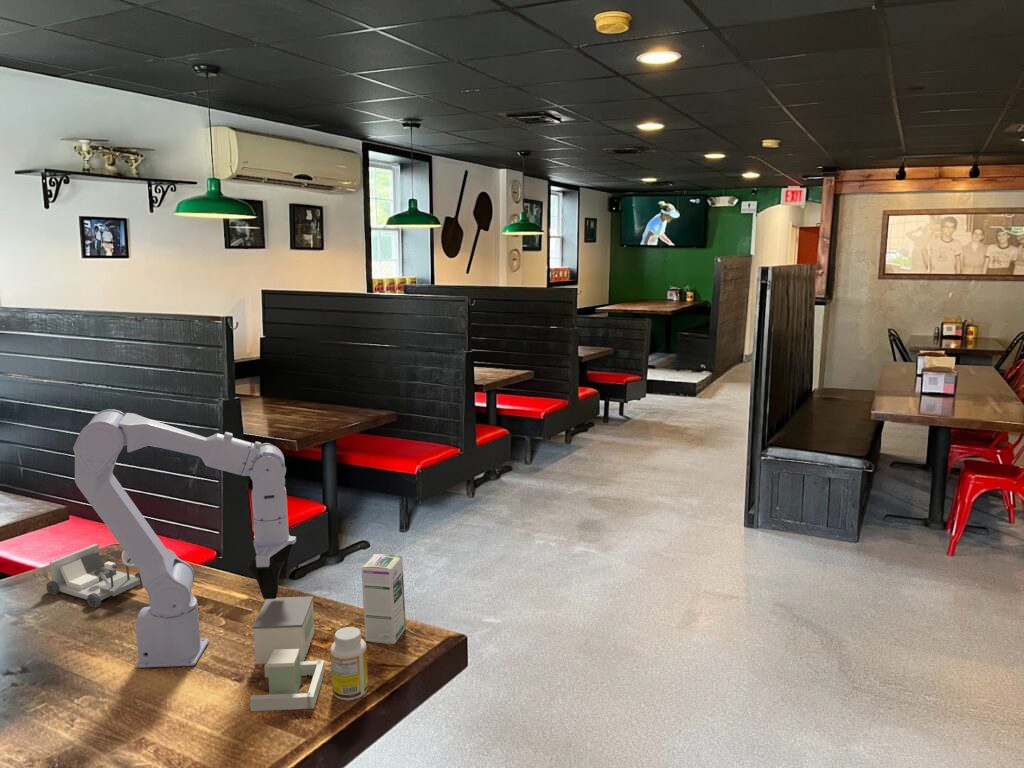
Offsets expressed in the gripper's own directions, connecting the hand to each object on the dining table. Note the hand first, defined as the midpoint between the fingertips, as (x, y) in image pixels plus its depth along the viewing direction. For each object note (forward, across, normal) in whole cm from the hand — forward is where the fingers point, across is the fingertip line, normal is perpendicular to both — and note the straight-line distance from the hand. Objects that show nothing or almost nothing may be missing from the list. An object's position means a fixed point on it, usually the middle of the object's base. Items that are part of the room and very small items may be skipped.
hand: (275, 587), depth 134 cm
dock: (+10, -16, -5) cm, 19 cm away
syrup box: (+10, 0, -19) cm, 22 cm away
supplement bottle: (+10, -17, -15) cm, 25 cm away
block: (+10, -16, -5) cm, 19 cm away
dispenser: (+10, -3, -2) cm, 11 cm away
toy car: (+11, +22, +40) cm, 47 cm away
